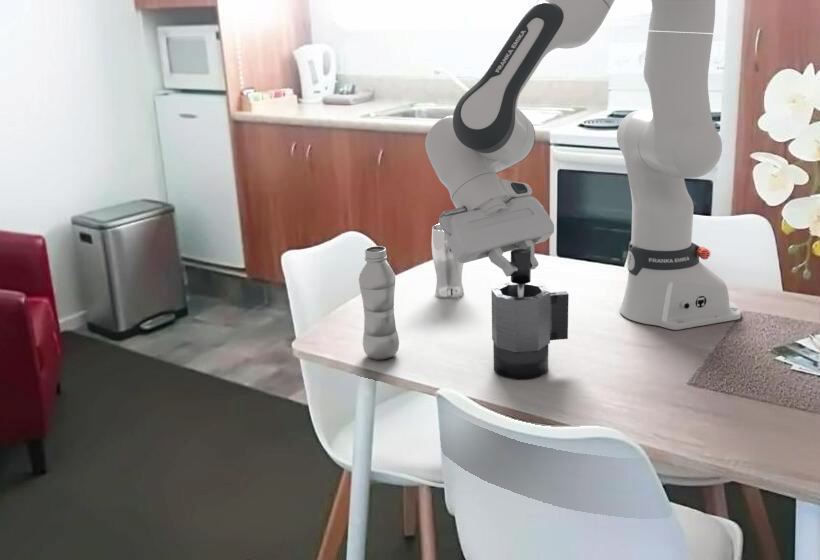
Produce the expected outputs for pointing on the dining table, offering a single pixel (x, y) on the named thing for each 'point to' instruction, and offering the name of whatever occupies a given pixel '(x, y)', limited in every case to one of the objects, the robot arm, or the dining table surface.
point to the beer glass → (446, 267)
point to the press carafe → (526, 328)
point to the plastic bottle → (378, 305)
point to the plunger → (521, 269)
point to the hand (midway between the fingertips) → (523, 270)
